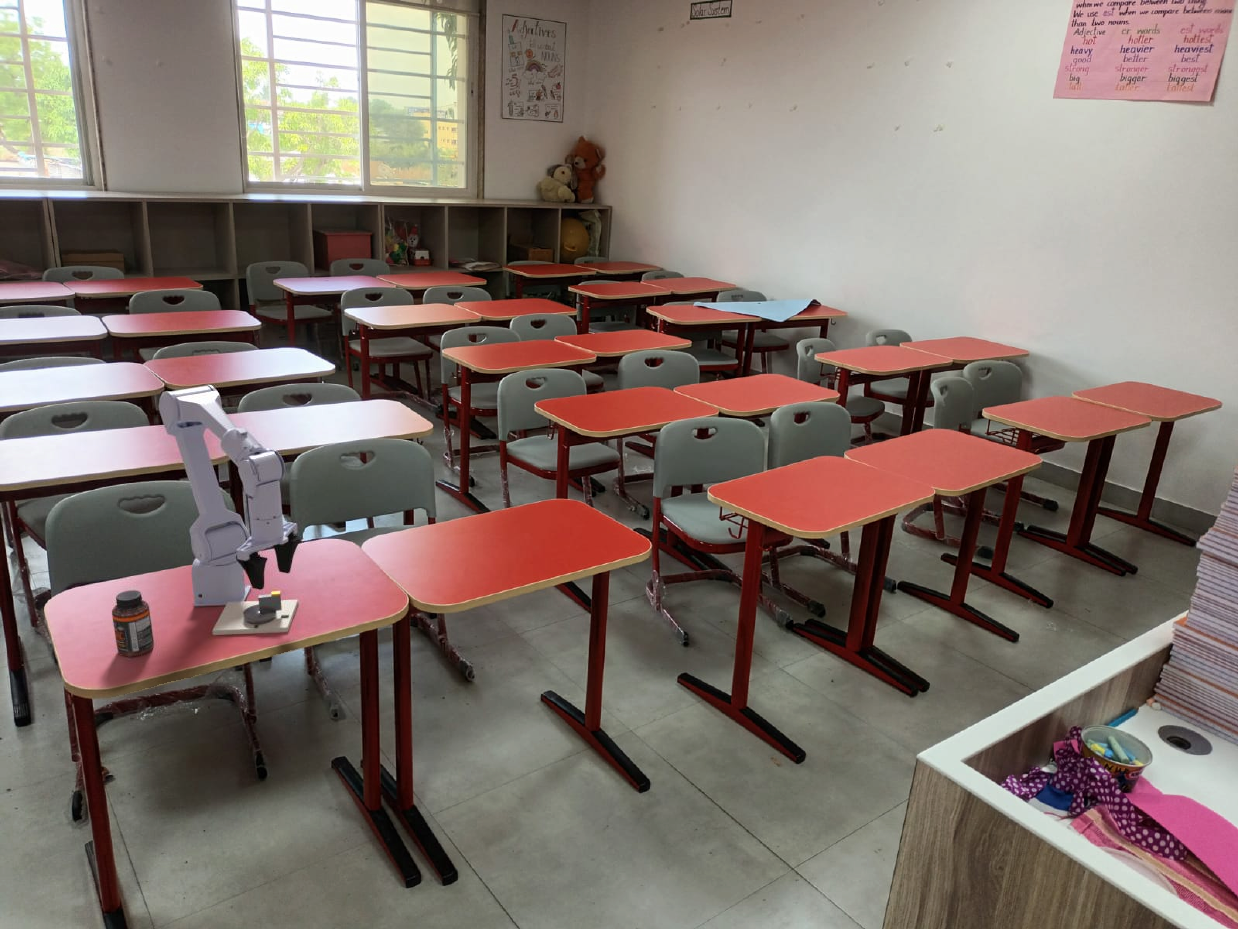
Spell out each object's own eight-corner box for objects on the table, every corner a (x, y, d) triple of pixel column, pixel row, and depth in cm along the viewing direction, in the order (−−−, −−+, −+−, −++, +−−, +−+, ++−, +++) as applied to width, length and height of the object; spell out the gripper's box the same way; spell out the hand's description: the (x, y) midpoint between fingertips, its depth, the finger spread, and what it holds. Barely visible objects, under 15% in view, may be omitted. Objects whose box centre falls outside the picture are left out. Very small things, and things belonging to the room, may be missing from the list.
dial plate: (213, 635, 165) (212, 629, 165) (228, 606, 176) (227, 600, 176) (287, 632, 168) (287, 626, 167) (298, 603, 179) (297, 598, 178)
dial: (242, 625, 167) (240, 602, 165) (245, 611, 172) (243, 588, 171) (281, 621, 169) (279, 599, 167) (282, 607, 174) (281, 585, 173)
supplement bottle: (111, 651, 158) (102, 595, 155) (143, 638, 163) (135, 584, 160) (128, 661, 155) (120, 605, 152) (161, 648, 160) (153, 593, 156)
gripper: (256, 531, 155) (263, 599, 159) (308, 505, 168) (313, 568, 172) (224, 525, 157) (231, 592, 161) (278, 499, 170) (283, 562, 174)
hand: (271, 580), depth 167 cm, fingers open, 7 cm apart
